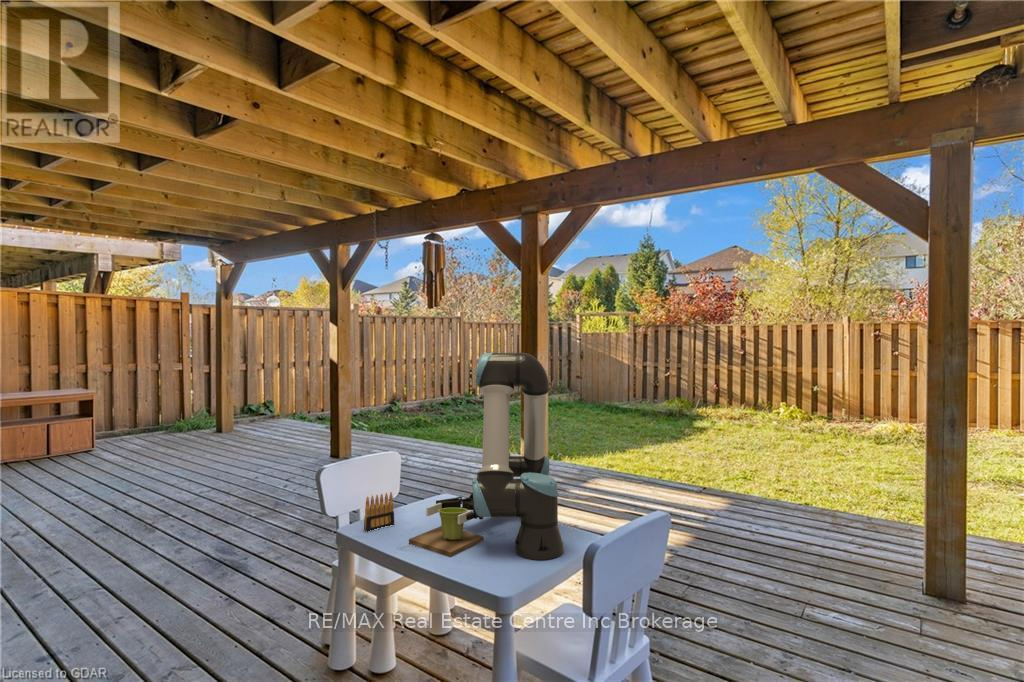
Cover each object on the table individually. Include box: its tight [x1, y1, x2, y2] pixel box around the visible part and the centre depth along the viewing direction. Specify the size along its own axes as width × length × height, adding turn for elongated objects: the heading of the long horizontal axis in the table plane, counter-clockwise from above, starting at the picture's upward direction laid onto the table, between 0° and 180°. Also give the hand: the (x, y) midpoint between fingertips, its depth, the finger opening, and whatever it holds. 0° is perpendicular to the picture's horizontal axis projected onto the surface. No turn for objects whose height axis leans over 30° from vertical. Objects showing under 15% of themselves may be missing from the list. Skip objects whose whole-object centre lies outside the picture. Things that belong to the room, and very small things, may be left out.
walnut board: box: [408, 525, 485, 558], centre depth 169 cm, size 18×16×2 cm
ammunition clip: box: [363, 491, 395, 532], centre depth 182 cm, size 11×2×12 cm, turn 130°
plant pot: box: [438, 508, 468, 540], centre depth 169 cm, size 9×9×9 cm
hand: (442, 515), depth 168 cm, fingers open, 13 cm apart
